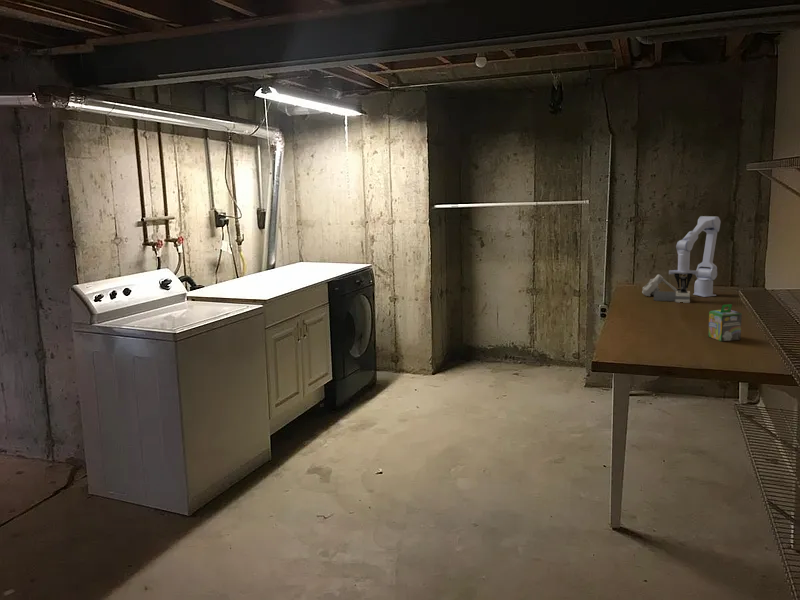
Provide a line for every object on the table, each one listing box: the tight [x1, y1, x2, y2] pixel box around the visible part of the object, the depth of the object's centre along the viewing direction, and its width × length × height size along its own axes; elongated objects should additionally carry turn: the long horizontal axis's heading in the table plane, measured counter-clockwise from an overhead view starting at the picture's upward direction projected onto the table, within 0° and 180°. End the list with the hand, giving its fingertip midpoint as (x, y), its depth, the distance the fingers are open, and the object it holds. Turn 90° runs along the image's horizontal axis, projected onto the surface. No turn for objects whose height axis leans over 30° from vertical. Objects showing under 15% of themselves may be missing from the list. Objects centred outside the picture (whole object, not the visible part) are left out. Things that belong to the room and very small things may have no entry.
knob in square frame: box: [653, 290, 691, 304], centre depth 352 cm, size 18×18×5 cm
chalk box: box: [708, 303, 743, 342], centre depth 267 cm, size 9×9×15 cm
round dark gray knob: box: [679, 276, 688, 292], centre depth 343 cm, size 4×4×8 cm
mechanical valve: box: [641, 273, 681, 297], centre depth 363 cm, size 10×18×15 cm
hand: (682, 287), depth 344 cm, fingers closed on round dark gray knob, 3 cm apart
